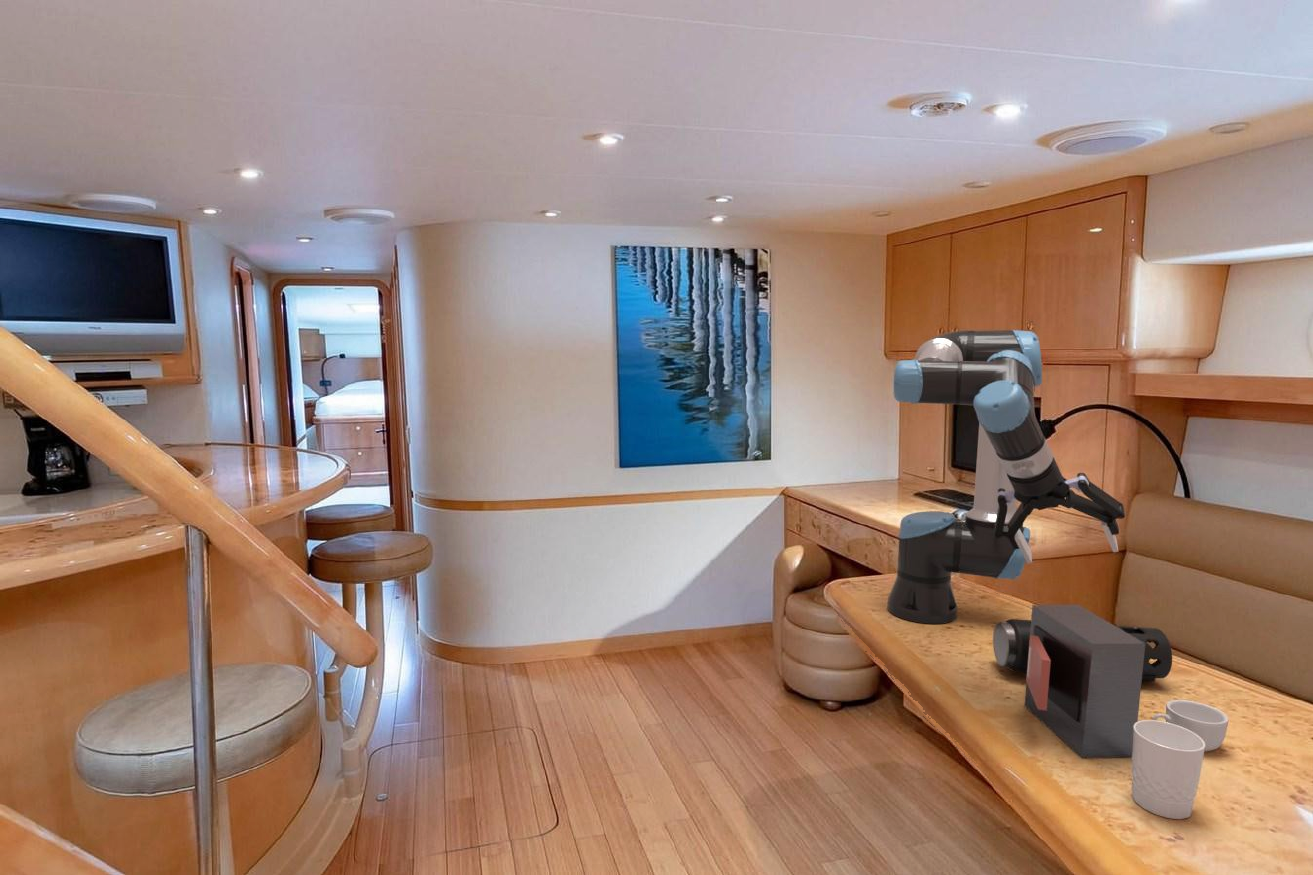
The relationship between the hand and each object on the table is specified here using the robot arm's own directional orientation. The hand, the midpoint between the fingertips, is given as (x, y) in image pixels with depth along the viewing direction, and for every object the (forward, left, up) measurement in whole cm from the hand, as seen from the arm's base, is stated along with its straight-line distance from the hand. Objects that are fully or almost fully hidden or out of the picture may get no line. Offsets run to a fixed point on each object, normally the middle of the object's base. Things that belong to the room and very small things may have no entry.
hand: (1071, 552), depth 128 cm
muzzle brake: (-5, +7, -26) cm, 27 cm away
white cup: (+33, -5, -26) cm, 42 cm away
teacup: (+18, +10, -26) cm, 33 cm away
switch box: (+14, -5, -26) cm, 29 cm away
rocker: (+13, -13, -20) cm, 27 cm away
